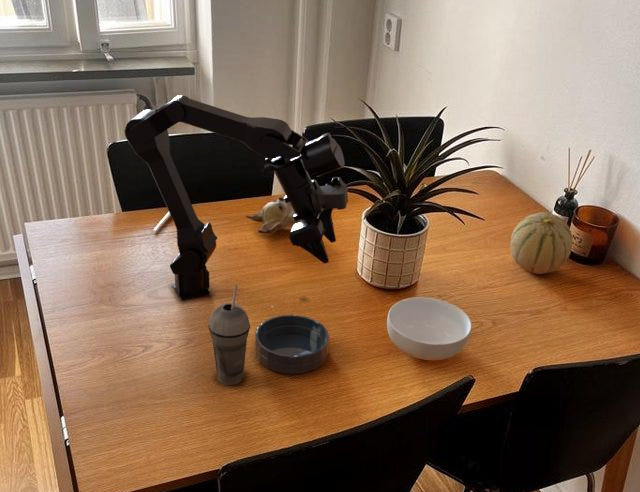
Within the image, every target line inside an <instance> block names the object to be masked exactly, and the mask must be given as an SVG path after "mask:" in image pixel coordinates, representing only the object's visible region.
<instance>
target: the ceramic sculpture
mask: <svg viewBox="0 0 640 492" xmlns="http://www.w3.org/2000/svg"><path fill="white" fill-rule="evenodd" d="M294 214H295V212H294V210H293V208H292V206H291V204H290V202H288V203H286V202H285V200H284V197H281V196H280V197H278V199H277V200H272V201H269V202H268V201H267V203H266V204H265V205H264V206H263V208H262V209H261V210H259V211H257V212H256V213H255V212H254V214H251V215H250V214H247V215H245V218H247V219H249V220H251V221H254V222H257V223H263V224H262V225H261V227H260V229H258V230H257V231H256V232H257V233H259V234H265V235H271V234H274V233H276V232H277V231H279V230H283V229H285V228H289V227H293V225H294V224H296V223H299V222H302V221H304V220H301V219H300V220H298V221H295V220H294V218H293V216H294Z"/></svg>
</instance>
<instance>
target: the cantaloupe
mask: <svg viewBox="0 0 640 492" xmlns="http://www.w3.org/2000/svg"><path fill="white" fill-rule="evenodd" d="M509 243H510V253H511V256H512V259H513V260H514V262H515V263H516V264H517V266H519V267H520V268H522V269H523V270H524V271H526V272H529V273H532V274H535V275H543V274H549V273H552V272H555V271H557V270H558V269H560V268H561V267H562V266H564V264H565V263H566V262H567V261H568V259H569V257H570V255H571V252H572V249H573V234H572V230H571V228H570V226H569V224H568V223H566V221H565V220H564V219H563V218H562V217H560V216H559V215H557V214H554V213H550V212H544V211H542V212H541V211H540V212H535V213H532V214H529V215H527V216H526V217H524V218H523V219H522V220H521V221H520V222H519V223H517V225H516V226H515V227H514V229H513V231H512V234H511V237H510V241H509Z"/></svg>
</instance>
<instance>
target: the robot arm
mask: <svg viewBox="0 0 640 492" xmlns="http://www.w3.org/2000/svg"><path fill="white" fill-rule="evenodd" d="M178 123H183V124H186V125H188V126H192V127H195V128H197V129H202V130H205V131H208V132H211V133H214V134H217V135H220V136H224V137H227V138H230V139H233V140H236V141H238V142H240V143H242V144H244V145H245V146H246V148H249V149H250V150H251V151H253V152H254V153H256V154H258V155H260V156H263V157H264V158H265V161H264V166H263V168H262V171H261V173H262V174H264V175H266V174H268V173H271V172H273V173H274V175H275V177H276V178H277V181H278V182H279V184H280V187H281V188H282V190H283V192H284V195H285V196H284V197H283V198H284V200H285V202H286V203H288V202H290V204H291V206H292V208H293V210H294V212H295V214H294V216H293V218H294V220H295V221H298V220H300V219H301V220H303V221H302V222H299V223H296V224H294V225H293V226H291V230H290V232H289V235H288V240H289V242H290V244H291V246H292V247H299V248H301V249H303V250H304V251H306V252H308V254H310V255H311V256H313V257H315V258H316V259H317V260H318V261H320V262H321V263H323V264H328V263H329V262H330V259H329V255H328V252H327V249H326V246H325V244H324V240H323V237H325V238H326V239H327V240H328V241H329V243H331V244H333V243H336V242H337V238H336V232H335V228H334V222H333V217H332V213H333V211H334V210H335V209H336V210H341V211H342V210H345V209H346V208H347V204H348V203H349V195H348V194H349V193H348V191H349V187H348V186H347V183H345V182H344V181H343V180H342V178H341V177H340V176H333V177H332V179H331V181H330V183H329V184H328V183H326V184H325V185H320V184H319V183H318V180H316V179H312V178H311V177H315V178H318V177H321V176H324V175H326V174H329V173H331V172H334V171H336V170H339V169H341V168H344V167H345V157H344V154H343V151H342V148H341V146H340V144H338V143H337V141H336V139H334V138H332V136H331V133H330V132H326V133H324V134H322V135H321V136H319V137H317V138H314V139H312V140H310V141H309V139H308V138H306V137H305V136H303V135H302V134H300V133H298V132H296V131H295V130H292V129H291V128H290V125H289V123H287V122H286V121H285V120H283V119H279V118H272V117H265V116H259V117H257V116H255V117H250V116H244V115H243V114H239V113H235V112H232V111H229V110H227V109H223V108H220V107H217V106H213V105H210V104H207V103H205V102H202V101H198V100H195V99H191V98H190V97H188V96H186V95H182V94H181V95H176V96H175V97H174V98H173V99H172V100H171V101H169V102H167V103H165V104H163V105H162V106H159V107H158V108H157V109H155V110H154V109H145V110H142V111H140V112H139V113H138V114H137V115H135V116H134V117H133V118H131V119H130V120H129V121H128V122H127V123H126V125H125V128H124V136H125V139H126V140H127V142H128V144H129V145H130V147H131V148H132V150H133V151H134V153H135V154H136V155H137V156H138V157H139V158H140V159H141V160H142V161H144V162H145V163H146V164H147V166H148V168H149V170H150V172H151V175H152V177H153V179H154V181H155V184H156V186H157V188H158V190H159V192H160V195H161V197H162V199H163V201H164V204H165V206H166V208H167V211H168V212H169V213H170V215H171V216H170V218H171V219H172V221H173V224H174V226H175V229H176V244H177V245H176V246H177V249H178V254H177V255H176V256H175V258H174V259H173V261H172V262H171V263H170V264H169V268H170V270H171V272H172V274H173V275H174V283H173V284H172V288H173V289H174V291H175V292H176V295H177V296H178V298H179V299H180V300H181V301H185V300H186V301H187V300H191V299H197V298H200V297H201V298H202V297H206V296H210V295H211V291H210V290H209V289H210V286H211V285H210V271H209V270H208V267H207V265H206V264H207V263H208V261H209V260H210V258H211V256H212V255H213V253H214V252H215V250H216V248H217V240H218V236H217V235H216V234H215V232H214V230H213V225H212V223H211V222H210V221H209V222H206V223H204V222H203V221H202V220H201V219H199V218H198V216H197V214H196V212H195V209H194V206H193V204H192V202H191V200H190V198H189V195H188V193H187V191H186V188H185V186H184V184H183V181H182V179H181V177H180V174H179V172H178V168H177V167H176V165H175V162H174V160H173V158H172V155H171V149H170V148H171V146H170V134H169V129H170V128H172V127H173V126H175V125H177V124H178Z"/></svg>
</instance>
